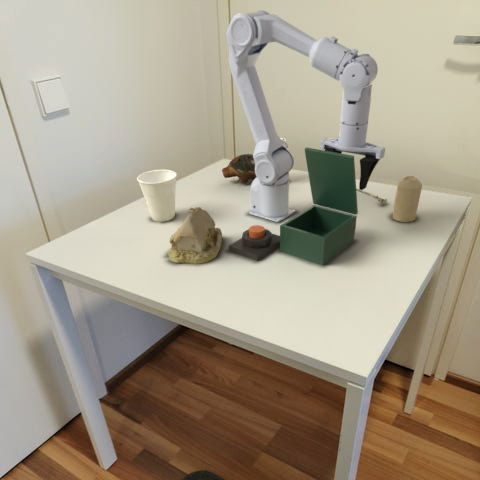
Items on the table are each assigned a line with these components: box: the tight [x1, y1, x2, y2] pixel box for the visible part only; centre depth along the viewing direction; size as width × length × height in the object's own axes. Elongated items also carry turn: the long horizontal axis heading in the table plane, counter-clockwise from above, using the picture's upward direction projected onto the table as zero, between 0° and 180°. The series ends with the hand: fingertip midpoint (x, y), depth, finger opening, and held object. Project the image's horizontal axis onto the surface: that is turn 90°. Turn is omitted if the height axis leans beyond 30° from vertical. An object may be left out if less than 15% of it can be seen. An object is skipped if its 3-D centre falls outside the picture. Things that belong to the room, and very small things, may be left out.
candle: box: [392, 175, 423, 223], centre depth 109 cm, size 6×6×10 cm
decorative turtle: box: [221, 153, 257, 185], centre depth 135 cm, size 10×15×8 cm, turn 101°
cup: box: [136, 169, 178, 223], centre depth 115 cm, size 10×10×11 cm
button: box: [248, 224, 266, 239], centre depth 101 cm, size 4×4×2 cm
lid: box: [304, 147, 359, 216], centre depth 97 cm, size 14×11×1 cm
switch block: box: [228, 228, 280, 262], centre depth 102 cm, size 8×10×3 cm
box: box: [279, 204, 358, 267], centre depth 100 cm, size 14×11×6 cm
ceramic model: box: [167, 206, 223, 265], centre depth 100 cm, size 14×11×10 cm
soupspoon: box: [356, 187, 388, 206], centre depth 125 cm, size 22×3×7 cm
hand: (347, 185), depth 103 cm, fingers open, 7 cm apart
